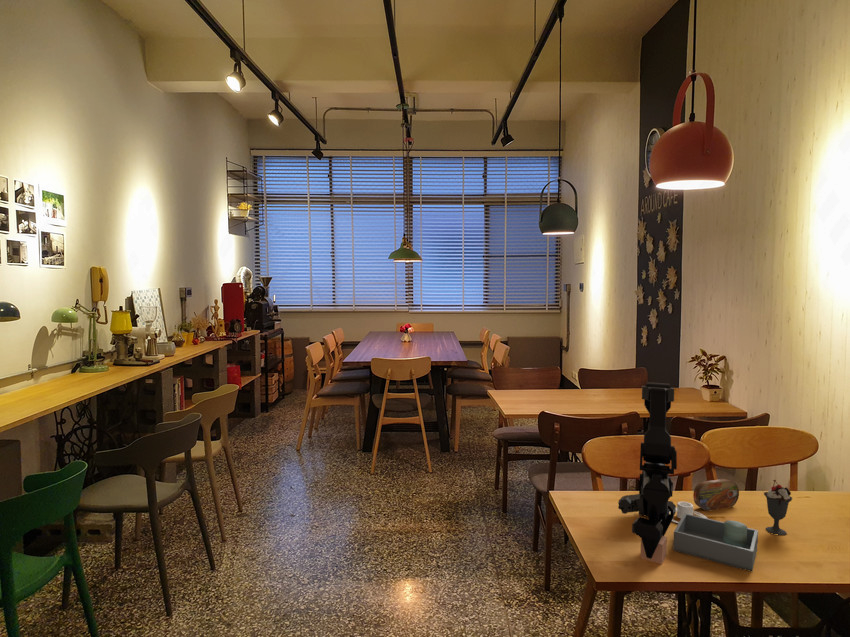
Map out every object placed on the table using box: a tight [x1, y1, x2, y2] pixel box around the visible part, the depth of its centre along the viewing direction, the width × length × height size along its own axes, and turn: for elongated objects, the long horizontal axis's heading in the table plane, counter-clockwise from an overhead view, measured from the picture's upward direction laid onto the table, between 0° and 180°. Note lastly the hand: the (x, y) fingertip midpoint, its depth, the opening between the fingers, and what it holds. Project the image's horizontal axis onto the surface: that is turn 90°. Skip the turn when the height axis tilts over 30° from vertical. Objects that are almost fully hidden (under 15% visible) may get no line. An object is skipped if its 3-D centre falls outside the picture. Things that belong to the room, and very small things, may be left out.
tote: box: [672, 513, 759, 572], centre depth 139 cm, size 13×17×5 cm
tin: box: [692, 478, 740, 512], centre depth 165 cm, size 15×3×8 cm, turn 105°
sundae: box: [763, 479, 793, 536], centre depth 149 cm, size 7×7×15 cm
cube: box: [640, 535, 668, 565], centre depth 136 cm, size 5×5×5 cm
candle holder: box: [669, 501, 709, 524], centre depth 158 cm, size 12×12×4 cm
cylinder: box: [723, 520, 748, 548], centre depth 137 cm, size 5×5×7 cm
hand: (653, 550), depth 136 cm, fingers open, 9 cm apart
